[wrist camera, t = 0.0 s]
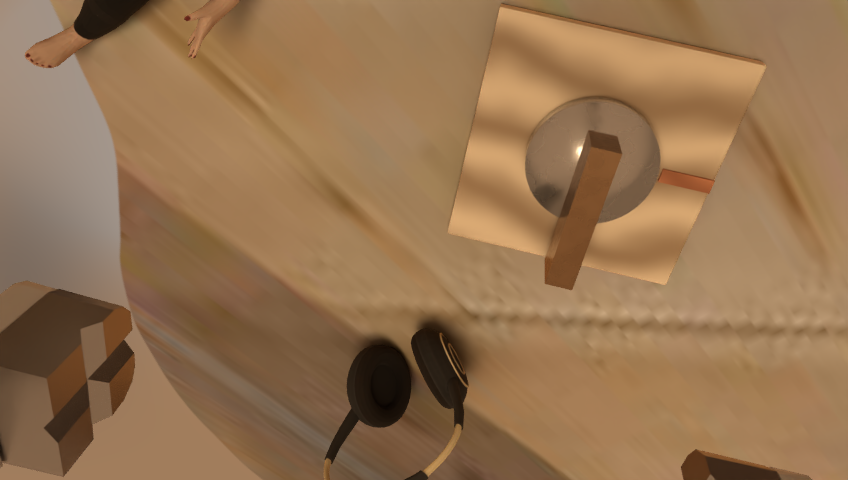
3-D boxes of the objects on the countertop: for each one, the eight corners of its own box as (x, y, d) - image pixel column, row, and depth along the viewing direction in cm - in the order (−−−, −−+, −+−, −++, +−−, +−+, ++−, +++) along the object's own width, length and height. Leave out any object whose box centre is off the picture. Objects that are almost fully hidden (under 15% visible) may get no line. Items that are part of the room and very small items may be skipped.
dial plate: (501, 3, 52) (499, 7, 50) (760, 61, 51) (767, 66, 49) (449, 225, 63) (447, 234, 61) (662, 276, 62) (665, 286, 60)
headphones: (340, 341, 72) (277, 487, 55) (457, 301, 67) (428, 449, 50) (377, 395, 75) (329, 550, 58) (492, 361, 70) (476, 520, 53)
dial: (545, 83, 53) (545, 103, 48) (678, 113, 52) (691, 136, 48) (499, 242, 61) (496, 272, 56) (615, 269, 60) (620, 301, 56)
